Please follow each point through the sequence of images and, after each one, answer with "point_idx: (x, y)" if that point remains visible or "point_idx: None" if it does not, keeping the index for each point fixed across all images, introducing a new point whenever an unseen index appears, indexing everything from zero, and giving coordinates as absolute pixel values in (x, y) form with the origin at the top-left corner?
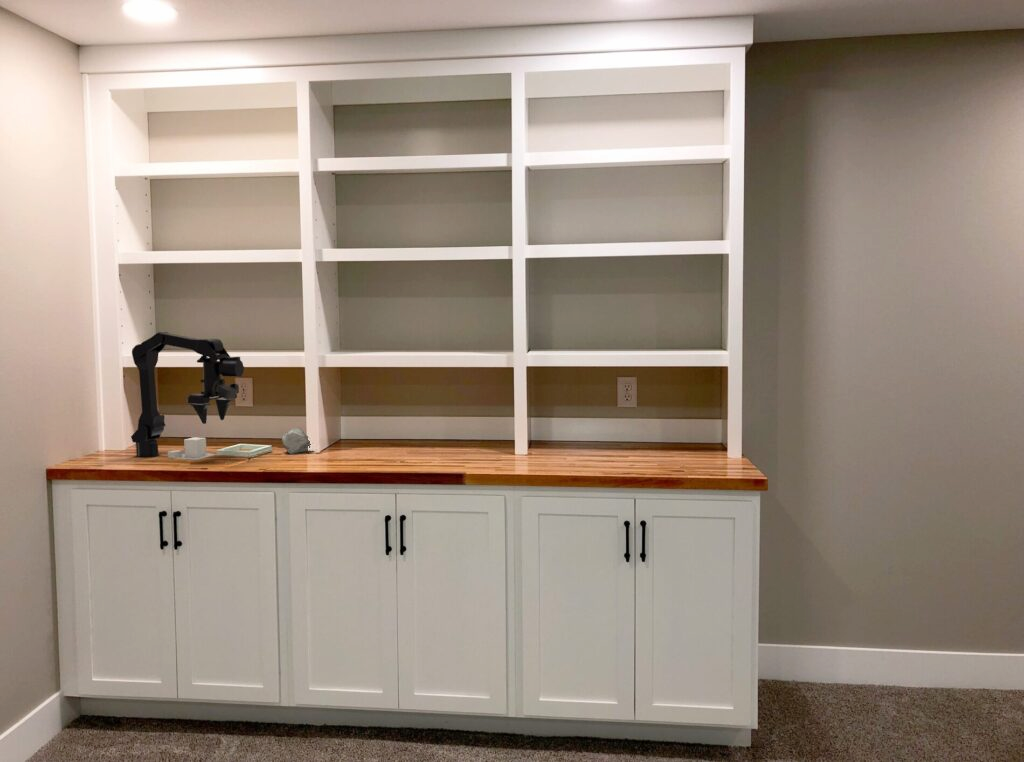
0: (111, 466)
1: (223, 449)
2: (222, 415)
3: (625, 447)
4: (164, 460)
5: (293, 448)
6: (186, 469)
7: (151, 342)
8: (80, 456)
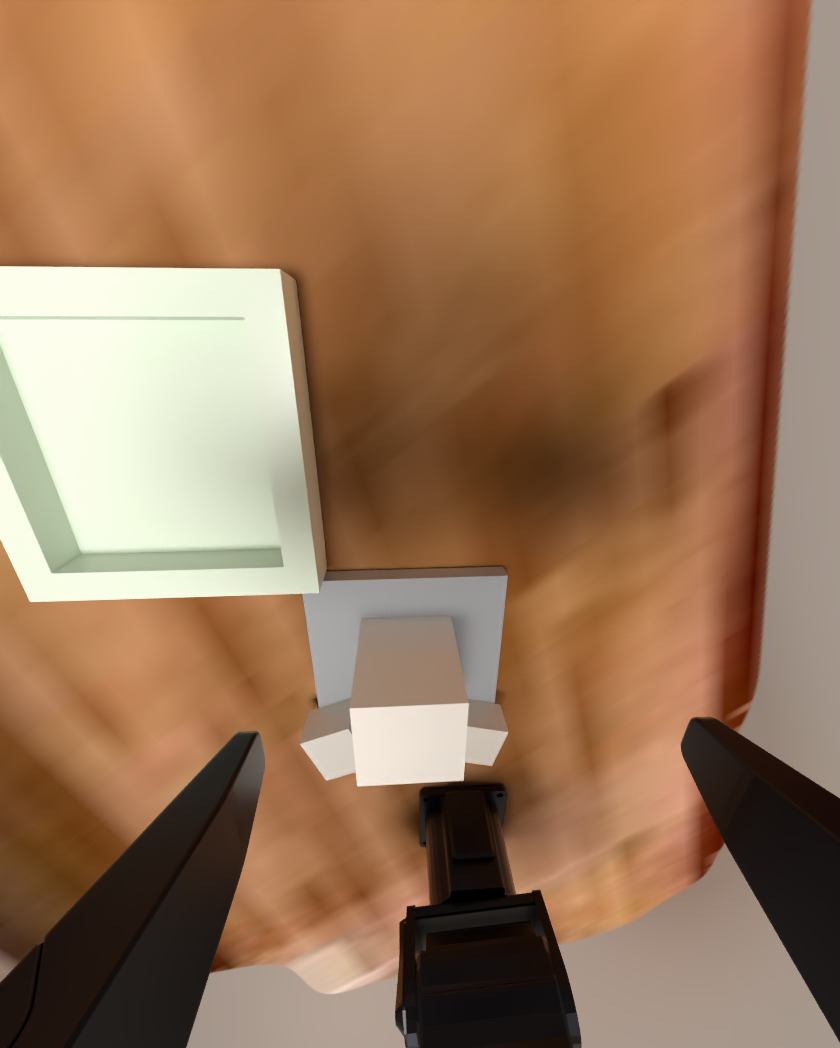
0: (644, 809)
1: (273, 567)
2: (230, 819)
3: None
4: None
5: None
6: (704, 496)
7: None
8: None
